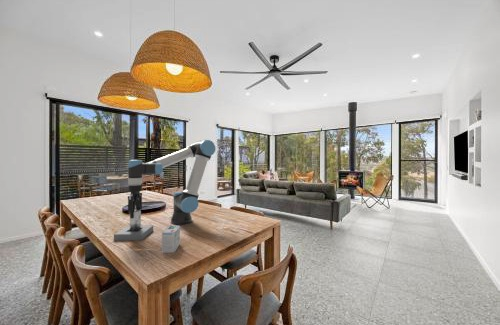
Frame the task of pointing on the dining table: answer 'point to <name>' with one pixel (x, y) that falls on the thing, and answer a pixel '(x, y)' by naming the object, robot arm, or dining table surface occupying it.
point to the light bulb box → (170, 239)
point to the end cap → (136, 222)
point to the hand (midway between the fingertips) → (135, 221)
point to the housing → (133, 233)
